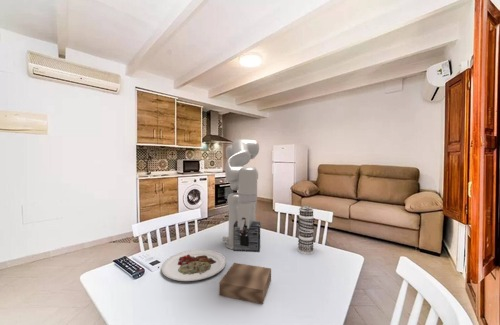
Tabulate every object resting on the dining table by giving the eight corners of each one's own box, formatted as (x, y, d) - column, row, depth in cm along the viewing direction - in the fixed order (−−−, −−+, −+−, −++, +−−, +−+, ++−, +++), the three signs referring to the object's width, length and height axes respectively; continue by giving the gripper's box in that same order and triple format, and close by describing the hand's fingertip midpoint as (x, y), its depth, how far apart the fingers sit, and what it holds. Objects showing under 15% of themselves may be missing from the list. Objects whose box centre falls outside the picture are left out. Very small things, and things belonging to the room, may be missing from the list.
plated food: (212, 289, 86) (212, 280, 86) (146, 279, 92) (146, 271, 92) (233, 255, 116) (233, 249, 116) (182, 250, 122) (182, 244, 122)
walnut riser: (219, 295, 82) (219, 282, 82) (233, 273, 97) (234, 262, 97) (262, 303, 77) (263, 290, 77) (271, 279, 93) (271, 268, 93)
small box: (260, 246, 90) (260, 221, 90) (259, 252, 83) (260, 225, 83) (235, 244, 91) (235, 220, 91) (232, 251, 84) (233, 224, 84)
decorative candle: (306, 255, 116) (307, 209, 116) (294, 249, 124) (294, 206, 124) (317, 251, 121) (318, 207, 121) (305, 246, 129) (305, 204, 129)
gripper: (245, 194, 96) (244, 233, 96) (231, 201, 79) (230, 249, 80) (261, 195, 94) (261, 235, 94) (250, 203, 77) (250, 252, 78)
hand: (247, 241), depth 87 cm, fingers closed on small box, 7 cm apart
